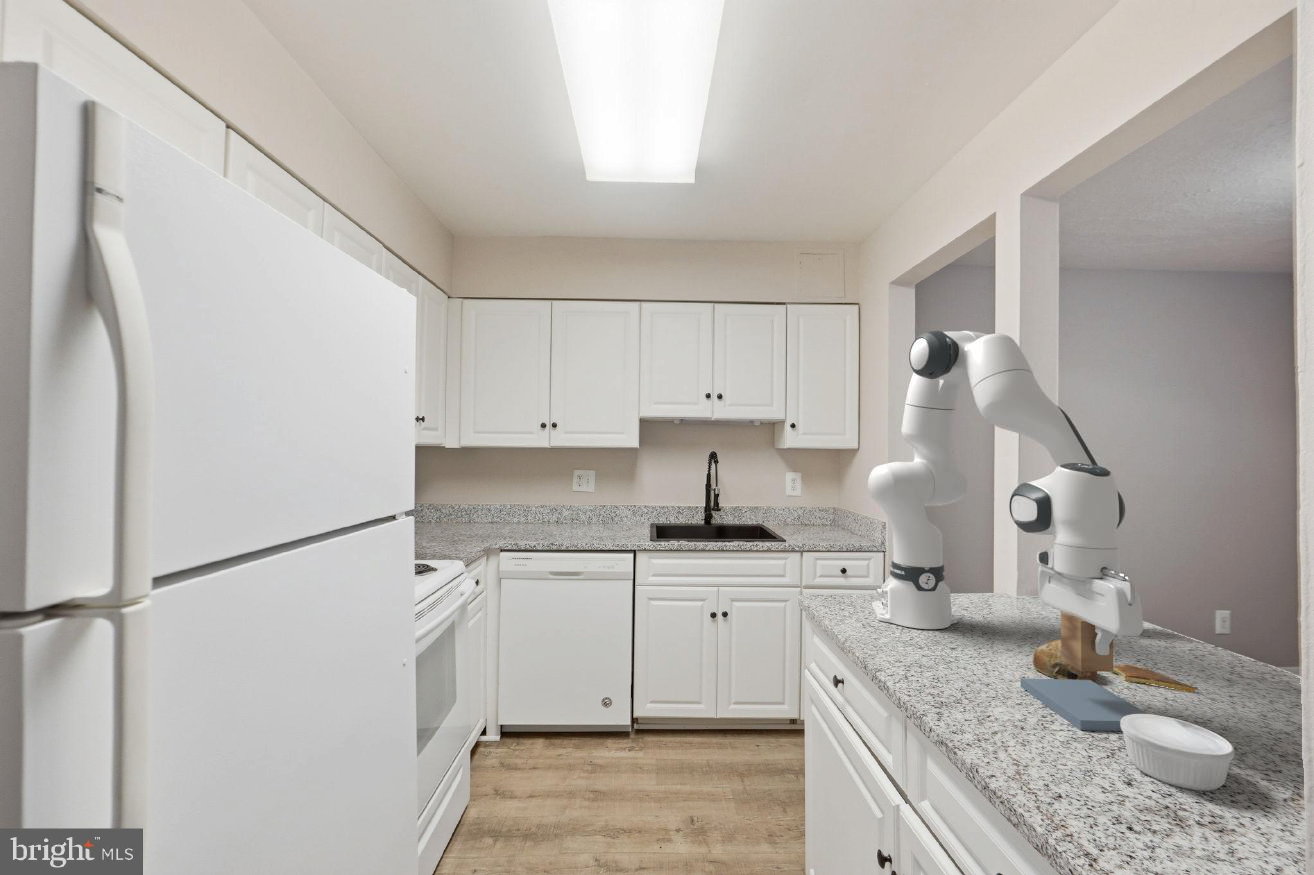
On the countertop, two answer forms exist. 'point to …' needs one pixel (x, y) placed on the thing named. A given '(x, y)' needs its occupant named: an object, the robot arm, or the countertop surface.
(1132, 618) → the robot arm
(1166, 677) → the shard
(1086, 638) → the walnut block
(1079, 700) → the slate board
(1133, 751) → the ramekin
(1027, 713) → the countertop surface
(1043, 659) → the bread roll
